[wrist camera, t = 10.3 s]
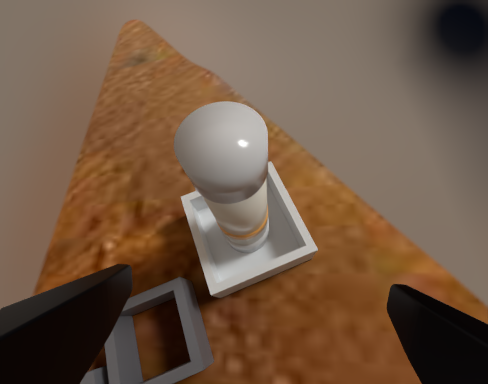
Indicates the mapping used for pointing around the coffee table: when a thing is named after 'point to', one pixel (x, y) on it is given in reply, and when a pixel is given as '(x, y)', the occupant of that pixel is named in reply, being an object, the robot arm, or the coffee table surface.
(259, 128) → the white bulb-shaped piece
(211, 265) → the tray
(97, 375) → the grey boxy piece
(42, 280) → the coffee table surface
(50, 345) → the robot arm
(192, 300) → the grey square frame
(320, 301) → the coffee table surface
